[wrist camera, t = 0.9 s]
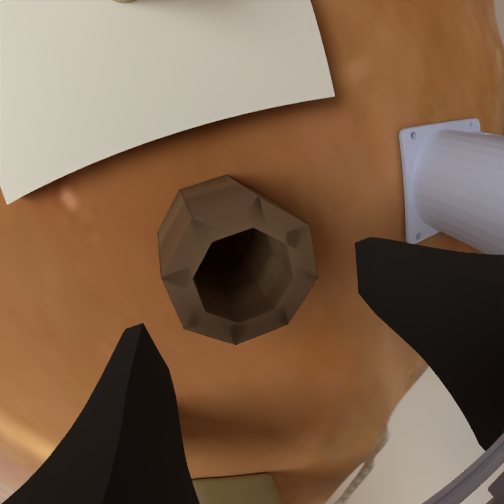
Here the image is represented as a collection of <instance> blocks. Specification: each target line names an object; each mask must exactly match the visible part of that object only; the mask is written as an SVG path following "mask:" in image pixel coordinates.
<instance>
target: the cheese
mask: <svg viewBox="0 0 504 504" xmlns="http://www.w3.org/2000/svg"><path fill="white" fill-rule="evenodd" d="M192 482H193V485H194V488H195V491H196V494H197V497H198V500H199V502H200V504H286V503H285V501H284V499H283V497H282V495H281V494H280V492H279V490H278V488H277V486H276V484H275V482H274V480H273V478H272V476H271V475H269V474H264V473H263V474H252V475H243V476H233V477H221V478H207V479H196V480H192Z"/></svg>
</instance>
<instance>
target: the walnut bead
mask: <svg viewBox="0 0 504 504" xmlns="http://www.w3.org/2000/svg"><path fill="white" fill-rule="evenodd" d="M251 228H253V232H254V238H253V239H252V241H251V243H250V245H249V246H248V248H247V250H246V252H245V253H244V255H243V257H242V258H241V260H240V261H237V262H234V263H231V264H229V265H226V266H223V267H220V268H217V269H215V270H214V269H211V268H209V267H206V266H204V265H202V264H201V262H202V260H203V258H204V256H205V254H206V252H207V251H208V249H209V247H210V245H211V243H212V242H213V241H216V240H219V239H222V238H225V237H228V236H231V235H233V234H236V233H239V232H242V231H245V230H248V229H251ZM158 247H159V261H160V272H161V279H162V281H163V283H164V285H165V288H166V290H167V292H168V294H169V297H170V299H171V301H172V303H173V306H174V308H175V310H176V312H177V315H178V317H179V319H180V321H181V323H182V325H183V329H184V330H189V331H192V332H195V333H198V334H201V335H204V336H208V337H211V338H214V339H218V340H221V341H224V342H228V343H231V344H235V345H237V344H239V343H242V342H245V341H247V340H250V339H252V338H255V337H257V336H260V335H263V334H265V333H268V332H270V331H273V330H275V329H277V328H280V327H282V326H285V325H288V323H289V322H290V320H291V319H292V317H293V316H294V314H295V313H296V311H297V310H298V308H299V306H300V305H301V303H302V302H303V300H304V299H305V297H306V296H307V294H308V293H309V291H310V290H311V288H312V286H313V285H314V283H315V282H316V280H317V279H318V277H317V270H316V263H315V257H314V250H313V244H312V238H311V232H310V226H309V224H307V223H306V222H304V221H303V220H301V219H300V218H298V217H297V216H295V215H294V214H292V213H291V212H289V211H287V210H286V209H284V208H283V207H281V206H280V205H278V204H277V203H275V202H273V201H272V200H270V199H269V198H267V197H265V196H263V195H261V194H259V193H257V192H256V191H254V190H252V189H250V188H248V187H246V186H245V185H243V184H241V183H239V182H237V181H235V180H234V179H232V178H230V177H229V176H227V175H224V176H221V177H217V178H214V179H211V180H208V181H205V182H202V183H199V184H196V185H193V186H190V187H187V188H184V189H181V190H179V192H178V193H177V195H176V197H175V199H174V201H173V203H172V205H171V207H170V209H169V211H168V213H167V215H166V217H165V219H164V221H163V223H162V225H161V227H160V229H159V231H158Z"/></svg>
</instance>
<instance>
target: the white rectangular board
mask: <svg viewBox="0 0 504 504" xmlns="http://www.w3.org/2000/svg"><path fill="white" fill-rule="evenodd" d="M329 97H335V94H334V89H333V85H332V80H331V76H330V72H329V67H328V63H327V59H326V55H325V51H324V47H323V43H322V39H321V36H320V32H319V28H318V25H317V21H316V18H315V14H314V11H313V8H312V4H311V1H310V0H137V1H135V2H131V3H118V2H115V1H113V0H0V187H1V190H2V193H3V195H4V198H5V201H6V203H7V205H8V204H9V203H11V202H13V201H15V200H17V199H19V198H20V197H22V196H24V195H26V194H28V193H30V192H32V191H34V190H36V189H38V188H40V187H42V186H44V185H46V184H48V183H50V182H52V181H54V180H56V179H59V178H61V177H63V176H65V175H67V174H69V173H72V172H74V171H76V170H78V169H81V168H83V167H85V166H88V165H90V164H92V163H95V162H97V161H100V160H102V159H105V158H107V157H110V156H112V155H115V154H117V153H120V152H122V151H125V150H128V149H130V148H133V147H136V146H139V145H141V144H144V143H147V142H150V141H153V140H156V139H159V138H162V137H165V136H168V135H171V134H174V133H177V132H181V131H184V130H187V129H190V128H194V127H197V126H201V125H204V124H208V123H211V122H215V121H219V120H222V119H226V118H230V117H234V116H238V115H242V114H246V113H250V112H255V111H259V110H264V109H268V108H273V107H278V106H283V105H288V104H293V103H299V102H304V101H310V100H316V99H322V98H329Z"/></svg>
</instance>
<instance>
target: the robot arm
mask: <svg viewBox="0 0 504 504" xmlns="http://www.w3.org/2000/svg"><path fill="white" fill-rule="evenodd" d="M411 133H412V138H411ZM399 140H400V149H401V158H402V169H403V182H404V198H405V224H406V242H407V243H405V242H400V241H395V240H389V239H382V238H373V237H369V238H366V239H364V240H361V241H359V242H356V243H355V250H356V262H357V277H358V293H359V294H360V295H361V297H362V298H363V299H364V300H365V302H366V303H367V304H368V305H369V307H370V308H371V309H372V310H373V311H374V313H375V314H377V315H378V316H379V317H380V318H381V319H382V320H383V321H384V322H385V323H386V324H387V325H388V326H389V327H390V328H392V329H393V330H394V331H395V332H396V333H397V334H398V335H399V336H400V337H401V338H402V339H404V340H405V341H406V342H407V343H408V344H409V345H410V346H411V347H412V348H413V349H414V350H415V351H416V352H417V353H418V354H419V355H420V356H421V357H422V358H423V359H424V360H425V361H426V363H427V364H428V365H429V366H430V367H431V369H432V370H433V371H434V372H435V374H436V375H437V376H438V377H439V379H440V380H441V382H442V383H443V384H444V386H445V387H446V388H447V390H448V391H449V392H450V394H451V395H452V397H453V398H454V400H455V401H456V403H457V405H458V406H459V407H460V409H461V411H462V412H463V414H464V416H465V418H466V419H467V421H468V423H469V425H470V427H471V429H472V430H473V432H474V434H475V436H476V438H477V441H478V443H479V445H480V446H481V447H482V448H483V449H484V450H485V451H486V452H485V453H484V454H482V456H480V457H479V458H478V459H477V460H476V461H475V462H474V463H473V464H472V465H471V466H469V467H468V468H467V469H466V470H465V471H464V472H463V473H461V474H460V475H459V476H458V477H457V478H455V479H454V480H453V481H452V482H451V483H449V484H448V485H447V486H445V487H444V488H443V489H442V490H440V491H439V492H438V493H436V494H435V495H434V496H432V497H431V498H430V499H428V500H427V501H425V502H424V503H423V504H459V503H461V502H462V501H463V500H464V499H465V498H467V497H468V496H469V495H470V494H471V493H472V492H473V491H475V490H476V489H477V488H478V487H479V486H480V485H481V484H482V483H483V482H484V481H485V480H487V479H488V477H490V476H491V475H492V474H493V473H494V472H495V471H496V470H497V468H499V467H500V465H501V464H502V463H503V462H504V136H502V135H497V134H492V133H487V132H482V131H480V123H479V120H478V119H476V118H470V119H462V120H454V121H447V122H440V123H433V124H427V125H421V126H415V127H409V128H404V129H402V130H401V131H400V133H399ZM439 232H443V233H445V234H447V235H449V236H451V237H453V238H455V239H457V240H459V241H461V242H463V243H465V244H467V245H469V246H471V247H473V248H475V249H477V250H479V251H481V252H483V253H485V254H476V253H465V252H456V251H450V250H443V249H437V248H431V247H426V246H421V245H415V244H416V243H418V242H420V241H422V240H424V239H427V238H429V237H431V236H433V235H435V234H437V233H439ZM416 236H417V237H416ZM488 491H489V492H490V493H491V494H492V495H493V498H492V499H491V500H490V501H489V502H488V503H486V504H504V472H503V473H502V474H501V475H500V476H499V477H498V478H497V479H496V480H495V481H494V482H493V483H492V484H491V486H489V488H488ZM2 504H200V502H199V500H198V497H197V494H196V491H195V488H194V485H193V482H192V479H191V476H190V473H189V470H188V466H187V462H186V458H185V453H184V447H183V441H182V435H181V428H180V421H179V415H178V408H177V401H176V395H175V391H174V387H173V383H172V379H171V375H170V371H169V368H168V367H167V365H166V363H165V361H164V360H163V358H162V356H161V355H160V353H159V351H158V349H157V348H156V346H155V344H154V342H153V340H152V339H151V337H150V335H149V333H148V331H147V329H146V328H145V326H144V324H143V323H142V324H139V325H136V326H133V327H130V328H127V329H125V331H124V332H123V334H122V336H121V338H120V340H119V342H118V344H117V346H116V348H115V350H114V352H113V354H112V356H111V358H110V360H109V362H108V364H107V366H106V368H105V370H104V372H103V374H102V376H101V378H100V380H99V382H98V383H97V385H96V387H95V389H94V391H93V393H92V394H91V396H90V398H89V400H88V402H87V404H86V405H85V407H84V409H83V410H82V412H81V413H80V415H79V417H78V418H77V420H76V421H75V423H74V424H73V426H72V427H71V429H70V430H69V432H68V433H67V434H66V436H65V437H64V438H63V439H62V441H61V442H60V443H59V445H58V446H57V447H56V449H55V450H54V451H53V452H52V454H51V455H50V456H49V458H48V459H47V460H46V461H45V462H44V463H43V464H42V466H41V467H40V468H39V469H38V470H37V471H36V472H35V473H34V474H33V475H32V476H31V477H30V479H29V480H28V481H27V482H26V483H25V484H23V485H22V486H21V487H20V488H19V489H18V490H17V491H16V492H15V493H14V494H12V495H11V496H10V497H9V498H8V499H7V500H6V501H4V502H3V503H2Z"/></svg>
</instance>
